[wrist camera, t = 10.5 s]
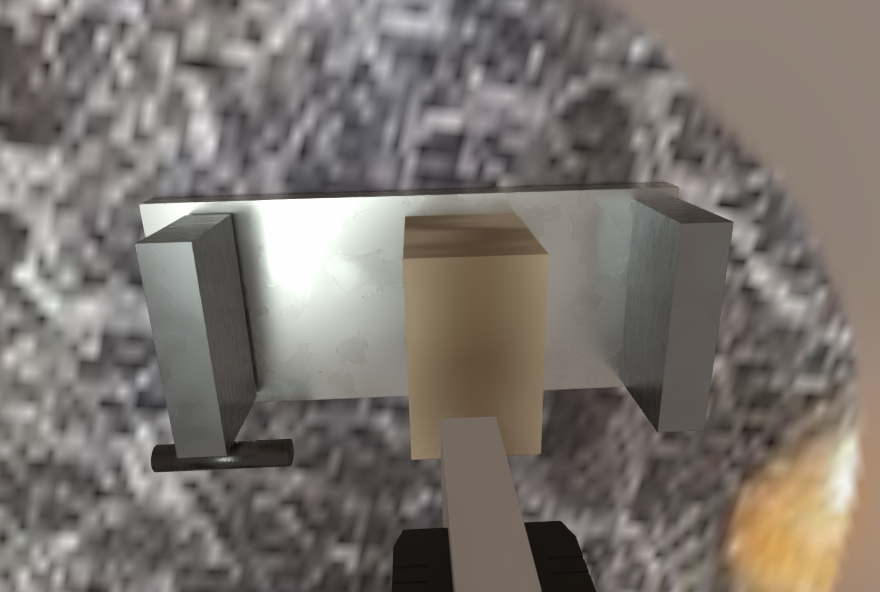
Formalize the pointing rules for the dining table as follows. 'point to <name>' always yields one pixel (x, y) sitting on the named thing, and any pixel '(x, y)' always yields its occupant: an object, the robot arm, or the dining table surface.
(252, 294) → the vise bed
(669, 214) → the fixed jaw
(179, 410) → the sliding jaw
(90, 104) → the dining table surface
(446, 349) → the block
